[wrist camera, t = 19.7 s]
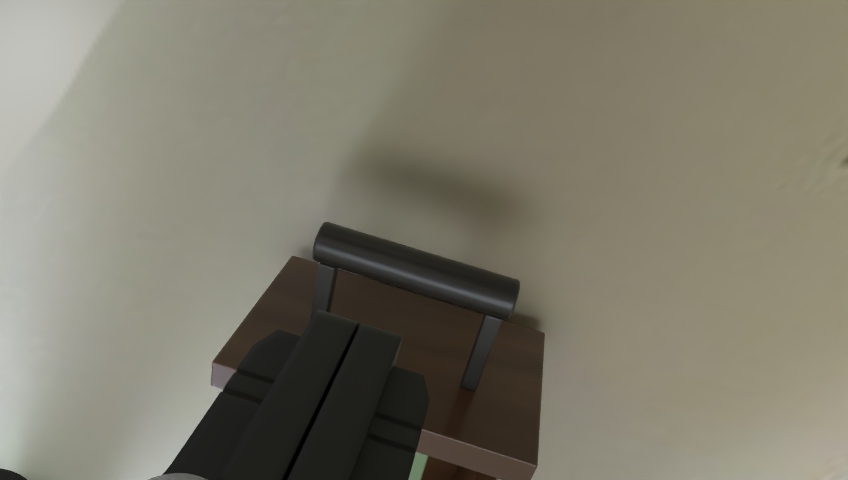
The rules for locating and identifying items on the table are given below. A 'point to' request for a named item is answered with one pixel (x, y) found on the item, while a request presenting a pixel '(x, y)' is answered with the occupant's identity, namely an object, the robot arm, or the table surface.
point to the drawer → (422, 344)
